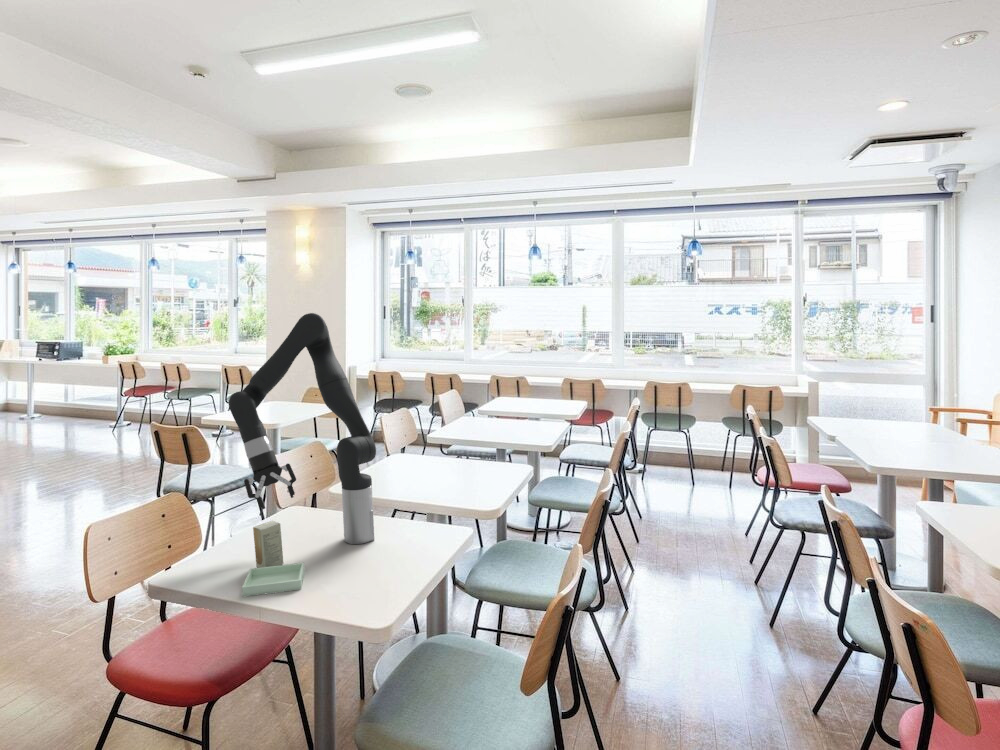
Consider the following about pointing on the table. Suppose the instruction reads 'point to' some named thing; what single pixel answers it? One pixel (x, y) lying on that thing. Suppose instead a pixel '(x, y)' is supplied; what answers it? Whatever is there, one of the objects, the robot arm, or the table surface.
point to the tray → (274, 579)
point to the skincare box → (268, 544)
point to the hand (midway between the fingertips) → (278, 503)
